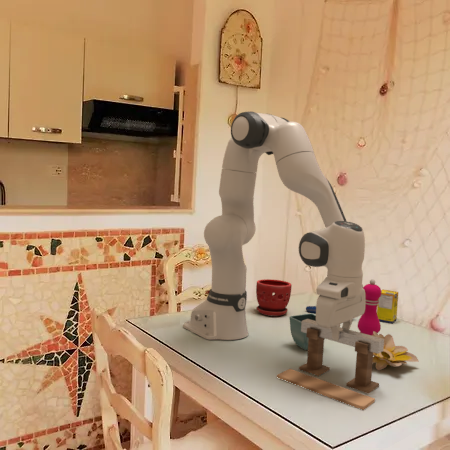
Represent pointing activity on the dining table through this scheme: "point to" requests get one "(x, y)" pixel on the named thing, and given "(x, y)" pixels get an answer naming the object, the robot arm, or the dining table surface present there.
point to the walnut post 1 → (314, 354)
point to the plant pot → (273, 296)
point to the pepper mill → (370, 310)
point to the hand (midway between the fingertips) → (340, 337)
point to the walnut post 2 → (363, 370)
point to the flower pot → (296, 329)
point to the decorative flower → (391, 354)
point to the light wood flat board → (327, 389)
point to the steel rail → (346, 336)
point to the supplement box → (387, 306)
